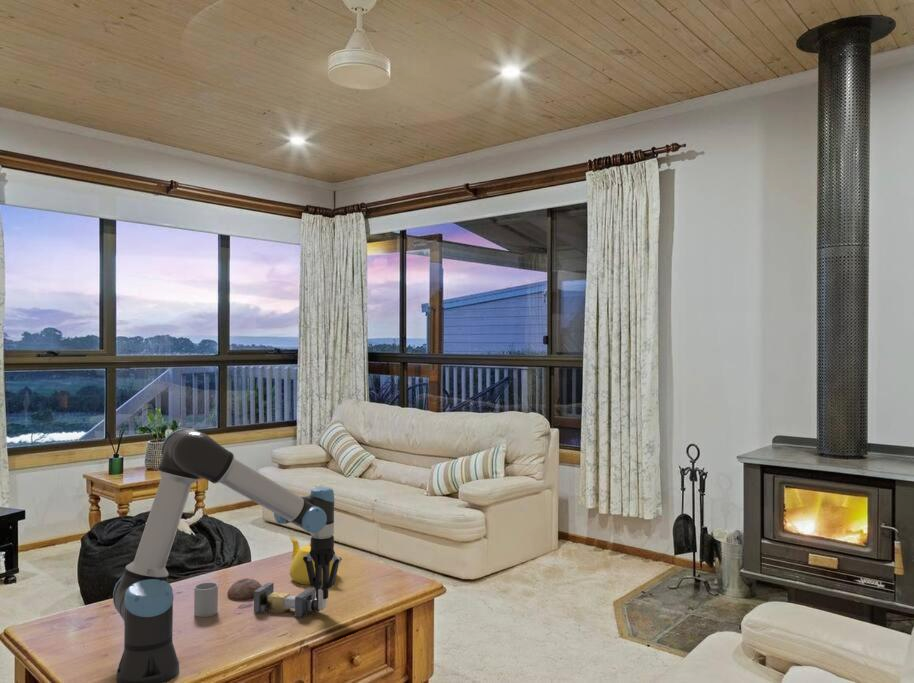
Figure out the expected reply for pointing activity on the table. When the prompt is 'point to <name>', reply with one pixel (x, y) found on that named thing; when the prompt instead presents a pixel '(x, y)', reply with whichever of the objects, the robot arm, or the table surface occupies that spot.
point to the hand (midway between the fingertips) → (322, 608)
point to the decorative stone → (243, 589)
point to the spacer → (276, 602)
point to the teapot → (302, 563)
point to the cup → (206, 599)
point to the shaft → (310, 603)
